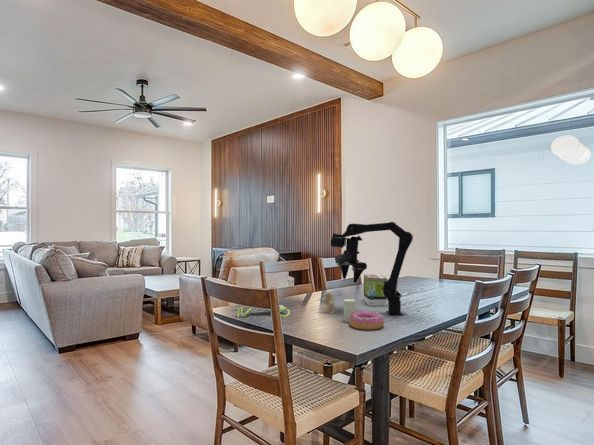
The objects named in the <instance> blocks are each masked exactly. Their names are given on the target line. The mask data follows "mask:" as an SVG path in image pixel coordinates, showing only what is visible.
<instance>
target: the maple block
mask: <svg viewBox="0 0 594 445" xmlns="http://www.w3.org/2000/svg"><path fill="white" fill-rule="evenodd" d="M334 313H335V292H330V291H329V292H326V291H325V292H324V293H323V314H334Z"/></svg>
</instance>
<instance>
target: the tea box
mask: <svg viewBox="0 0 594 445" xmlns="http://www.w3.org/2000/svg"><path fill="white" fill-rule="evenodd" d="M386 279H387V277H386V276H385V275H383V274H375V273H374V274H369V273H367V274H363V301H364V303H366V305H367V306H368V307H387V306H388V303H387V302H388V299H387V297H385V296H384V294H383V290H384V289H382V288H383V287H384V282H385V280H386ZM387 280H388V279H387Z"/></svg>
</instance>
